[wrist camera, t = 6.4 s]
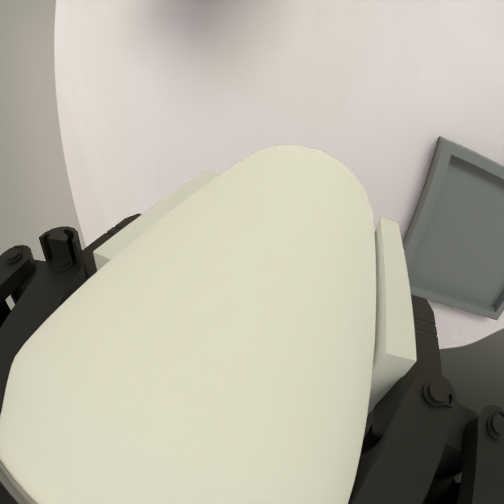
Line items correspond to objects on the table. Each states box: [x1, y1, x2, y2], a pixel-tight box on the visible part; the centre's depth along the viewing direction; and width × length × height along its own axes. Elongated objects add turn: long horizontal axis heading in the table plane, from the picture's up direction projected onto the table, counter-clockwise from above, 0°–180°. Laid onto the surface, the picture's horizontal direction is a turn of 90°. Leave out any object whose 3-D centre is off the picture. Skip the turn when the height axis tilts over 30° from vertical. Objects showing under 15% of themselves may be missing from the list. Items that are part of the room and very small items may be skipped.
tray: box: [403, 136, 504, 320], centre depth 23 cm, size 16×16×2 cm
